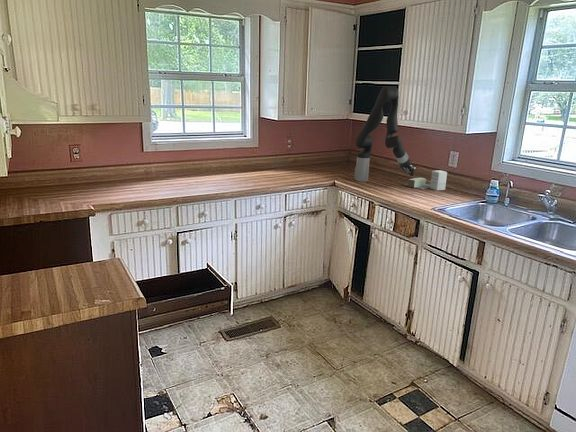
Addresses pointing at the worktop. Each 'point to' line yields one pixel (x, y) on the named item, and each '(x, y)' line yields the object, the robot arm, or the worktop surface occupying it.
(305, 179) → the worktop surface
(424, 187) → the mat
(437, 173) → the supplement box
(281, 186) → the worktop surface
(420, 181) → the block
